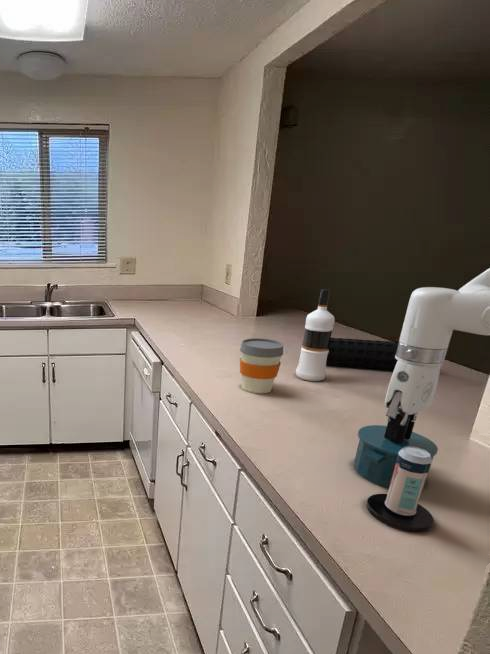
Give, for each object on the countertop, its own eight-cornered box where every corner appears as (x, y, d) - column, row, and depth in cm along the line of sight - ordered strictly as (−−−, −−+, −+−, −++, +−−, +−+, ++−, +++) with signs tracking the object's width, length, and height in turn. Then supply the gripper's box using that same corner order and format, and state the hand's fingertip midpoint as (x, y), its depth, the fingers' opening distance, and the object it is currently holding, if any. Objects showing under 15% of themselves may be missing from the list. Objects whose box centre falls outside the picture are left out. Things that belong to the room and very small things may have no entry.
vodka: (288, 374, 152) (303, 288, 141) (310, 371, 154) (325, 286, 144) (309, 383, 143) (325, 292, 133) (331, 380, 146) (349, 290, 136)
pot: (441, 475, 92) (452, 443, 89) (398, 502, 83) (408, 468, 80) (378, 450, 102) (386, 421, 99) (334, 471, 93) (341, 440, 90)
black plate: (442, 519, 78) (444, 515, 78) (415, 539, 73) (417, 535, 73) (383, 492, 86) (384, 487, 86) (355, 508, 81) (356, 504, 81)
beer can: (399, 500, 82) (415, 443, 78) (422, 515, 77) (440, 457, 73) (377, 503, 81) (393, 446, 77) (400, 519, 77) (417, 460, 72)
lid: (448, 449, 88) (458, 420, 85) (416, 468, 81) (425, 437, 79) (377, 424, 99) (384, 397, 96) (343, 439, 92) (350, 411, 90)
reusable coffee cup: (259, 379, 147) (265, 336, 142) (286, 392, 136) (293, 346, 131) (227, 383, 143) (232, 340, 138) (252, 397, 132) (258, 350, 127)
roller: (303, 362, 159) (307, 335, 159) (299, 362, 169) (302, 336, 168) (426, 372, 148) (430, 342, 147) (414, 371, 157) (417, 344, 157)
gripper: (422, 365, 76) (396, 457, 83) (462, 351, 84) (435, 436, 90) (377, 355, 82) (356, 441, 89) (418, 343, 90) (396, 423, 96)
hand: (396, 438), depth 89 cm, fingers closed on lid, 2 cm apart
